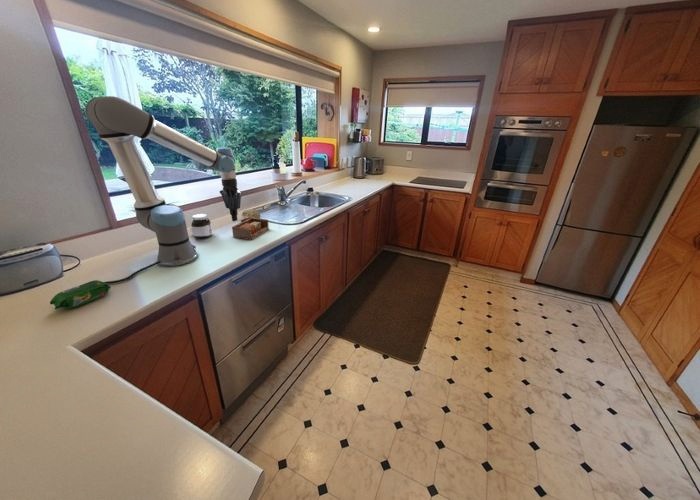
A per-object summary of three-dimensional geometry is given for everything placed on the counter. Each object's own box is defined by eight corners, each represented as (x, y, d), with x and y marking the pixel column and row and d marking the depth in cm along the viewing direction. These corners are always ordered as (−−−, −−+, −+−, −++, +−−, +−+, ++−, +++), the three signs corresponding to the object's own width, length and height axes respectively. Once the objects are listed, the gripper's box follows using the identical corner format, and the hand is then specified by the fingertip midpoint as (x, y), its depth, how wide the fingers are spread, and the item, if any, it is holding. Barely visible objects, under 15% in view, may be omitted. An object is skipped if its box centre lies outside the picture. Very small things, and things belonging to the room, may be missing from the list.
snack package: (48, 309, 90) (42, 296, 88) (105, 287, 103) (100, 275, 101) (59, 316, 87) (52, 303, 85) (116, 292, 100) (111, 280, 98)
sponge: (258, 228, 170) (265, 212, 186) (253, 217, 166) (261, 201, 182) (237, 231, 171) (246, 215, 187) (232, 220, 166) (242, 204, 183)
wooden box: (250, 240, 149) (249, 229, 147) (233, 237, 152) (231, 226, 150) (268, 229, 165) (268, 219, 163) (252, 227, 168) (251, 217, 166)
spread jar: (205, 240, 147) (202, 218, 143) (184, 239, 147) (180, 217, 143) (216, 232, 158) (213, 212, 154) (196, 231, 158) (192, 211, 154)
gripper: (243, 178, 151) (248, 219, 161) (223, 176, 154) (229, 217, 164) (234, 180, 144) (240, 223, 154) (213, 178, 147) (220, 221, 157)
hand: (234, 220), depth 159 cm, fingers closed
